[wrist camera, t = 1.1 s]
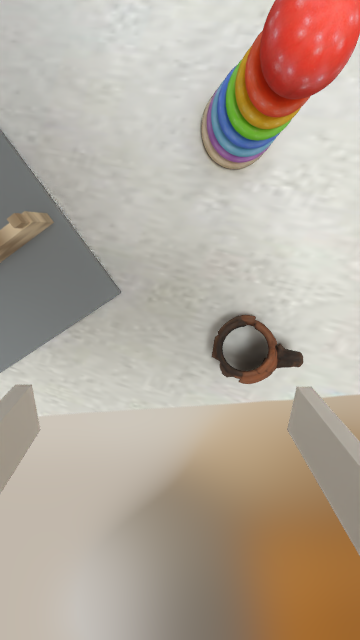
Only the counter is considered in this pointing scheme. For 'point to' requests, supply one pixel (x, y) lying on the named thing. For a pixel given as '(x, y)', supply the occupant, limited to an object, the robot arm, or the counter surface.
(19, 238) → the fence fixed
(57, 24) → the counter surface
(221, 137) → the stacking toy
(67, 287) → the board
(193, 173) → the counter surface
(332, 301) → the counter surface
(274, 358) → the brown jagged ring
